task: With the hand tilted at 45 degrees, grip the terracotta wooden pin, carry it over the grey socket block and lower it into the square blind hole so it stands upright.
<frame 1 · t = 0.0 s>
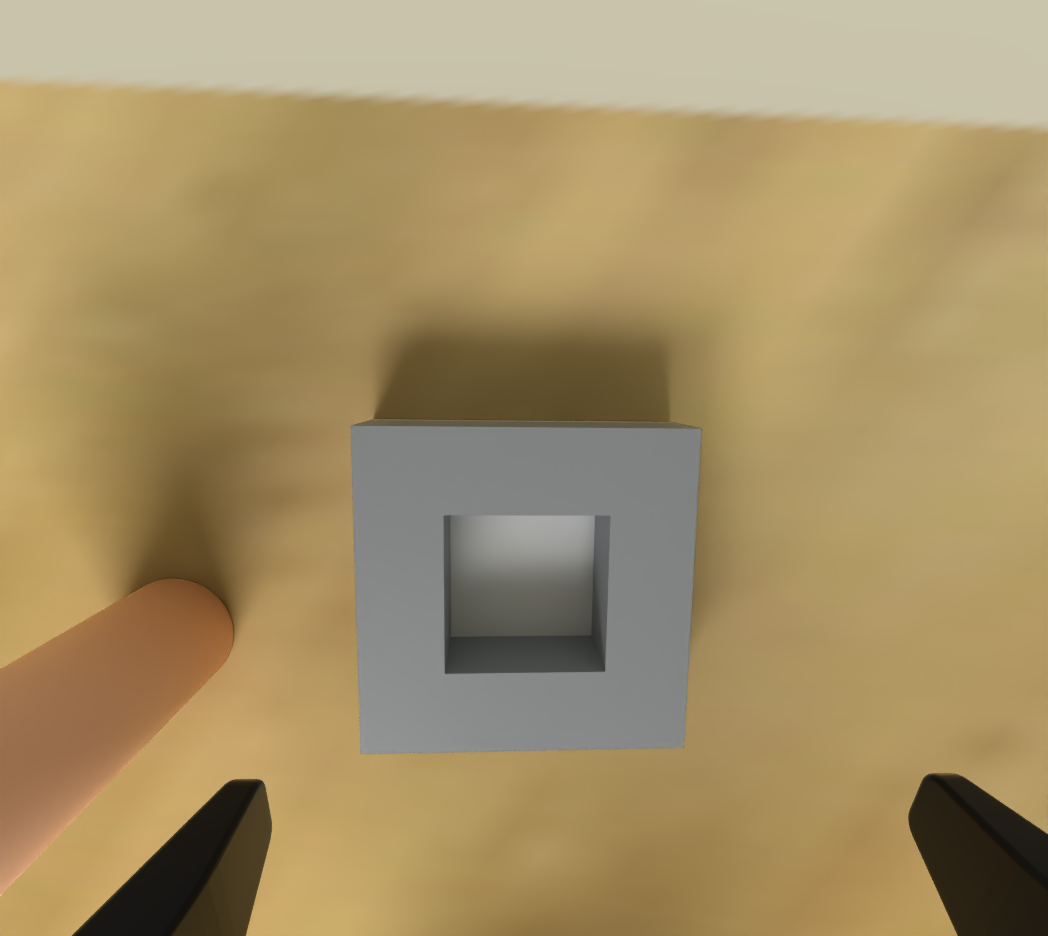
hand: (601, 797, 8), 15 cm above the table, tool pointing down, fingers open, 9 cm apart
socket block: (521, 564, 23), on the table
pin: (176, 632, 23), on the table
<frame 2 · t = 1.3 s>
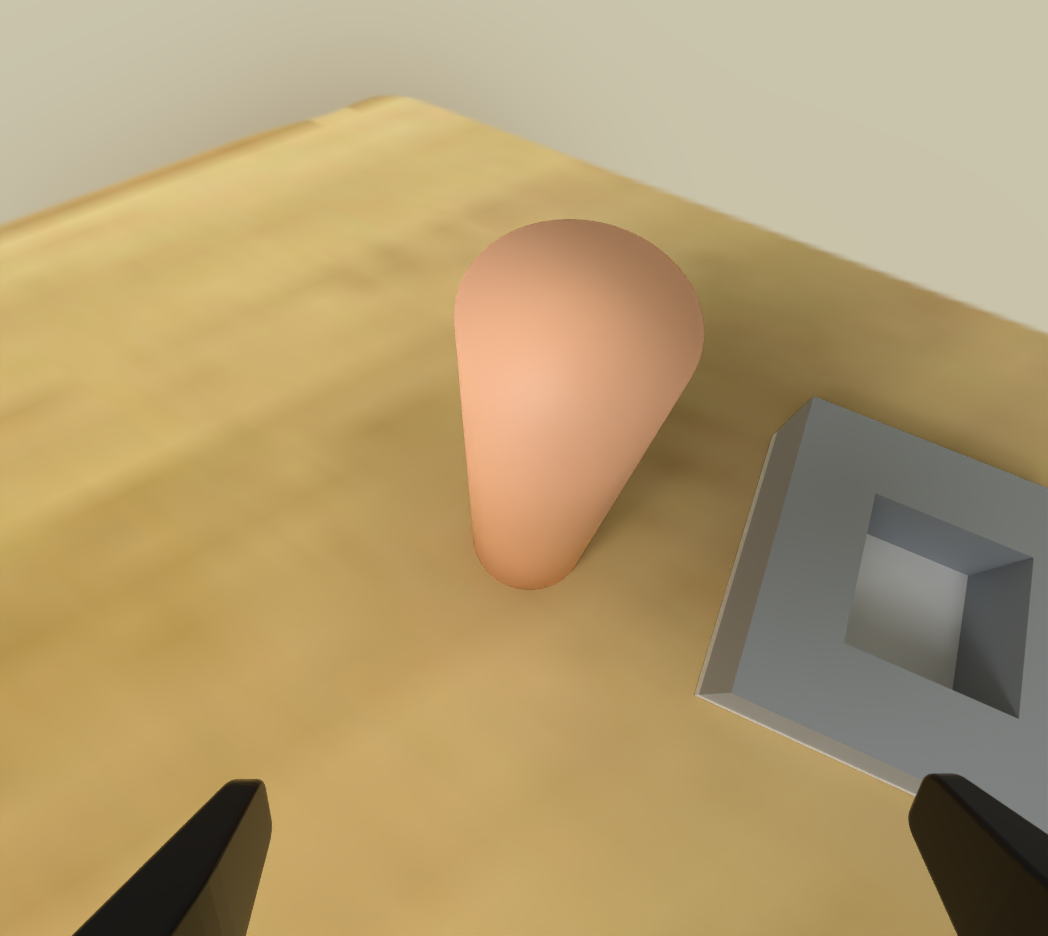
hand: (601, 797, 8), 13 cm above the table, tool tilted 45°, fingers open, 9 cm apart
socket block: (877, 613, 23), on the table
pin: (528, 533, 23), on the table
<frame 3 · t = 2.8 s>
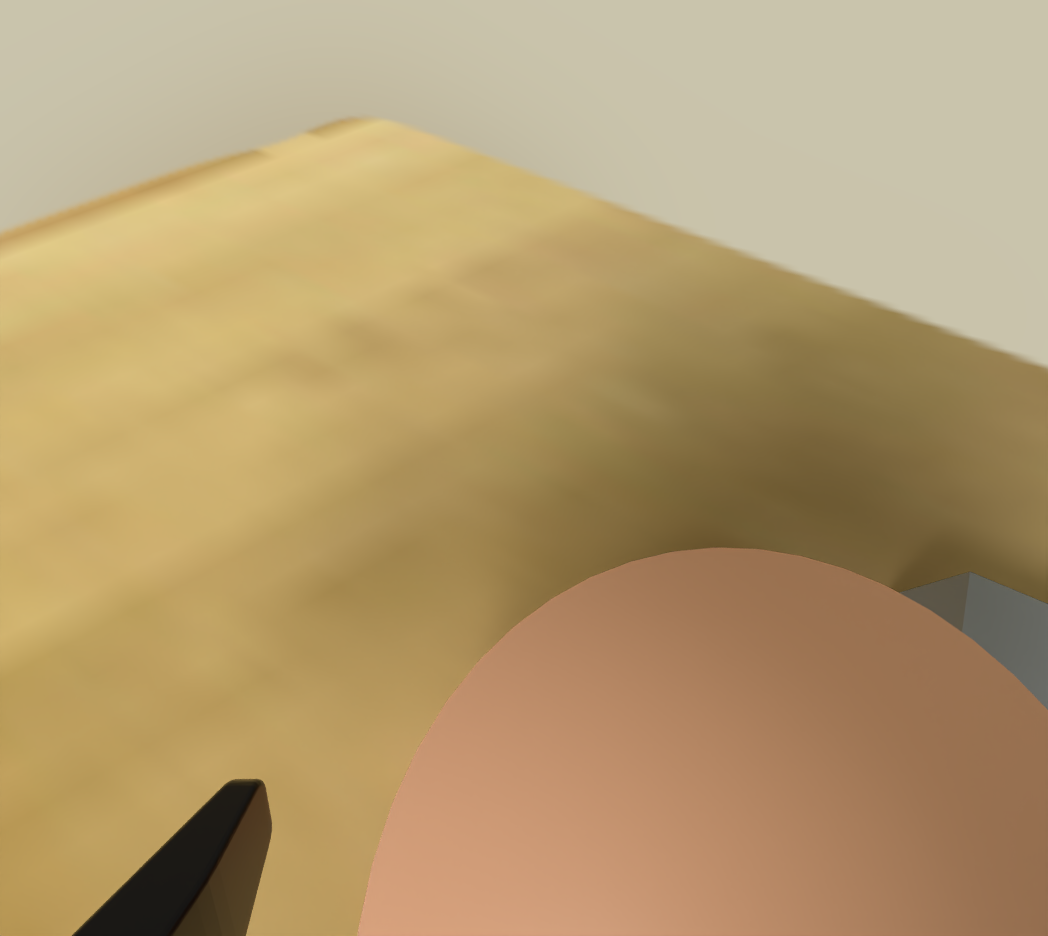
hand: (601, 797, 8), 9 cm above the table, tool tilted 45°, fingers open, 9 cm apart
pin: (544, 762, 16), on the table
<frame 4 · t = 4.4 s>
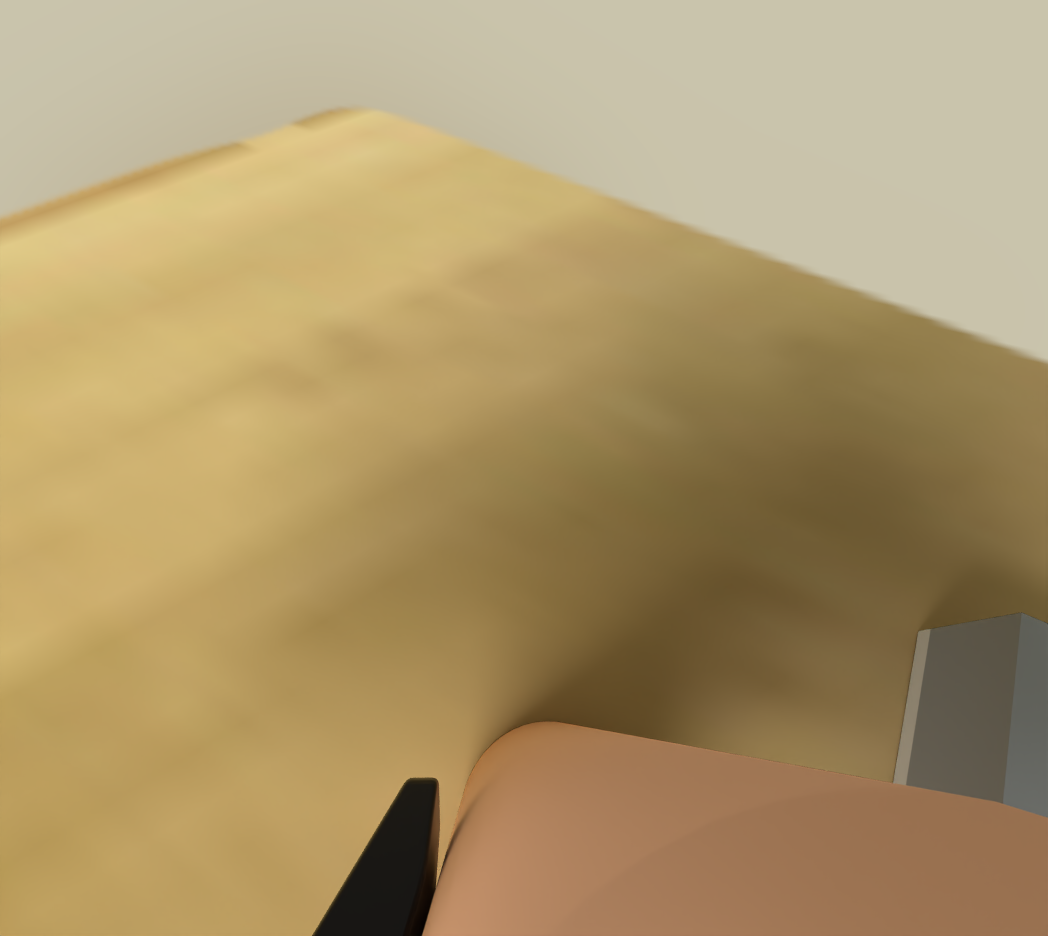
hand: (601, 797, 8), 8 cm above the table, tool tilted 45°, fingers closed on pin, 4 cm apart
pin: (549, 818, 14), on the table, touching gripper
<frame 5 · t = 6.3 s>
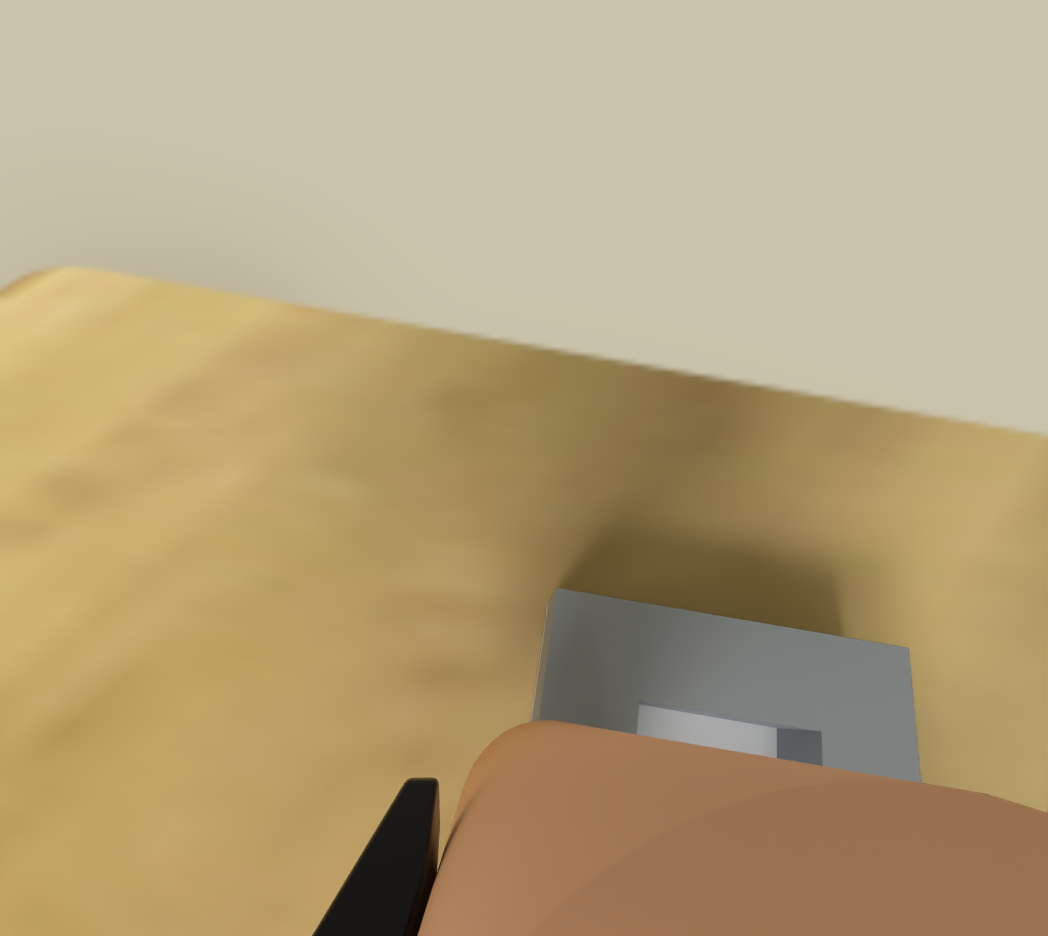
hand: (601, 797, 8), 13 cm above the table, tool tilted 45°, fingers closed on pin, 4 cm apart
socket block: (689, 802, 20), on the table
pin: (548, 817, 14), point 6 cm above the table, touching gripper
when the fingers open (9 cm above the table, at t = 8.6 s): pin stays where it is, resting on socket block.
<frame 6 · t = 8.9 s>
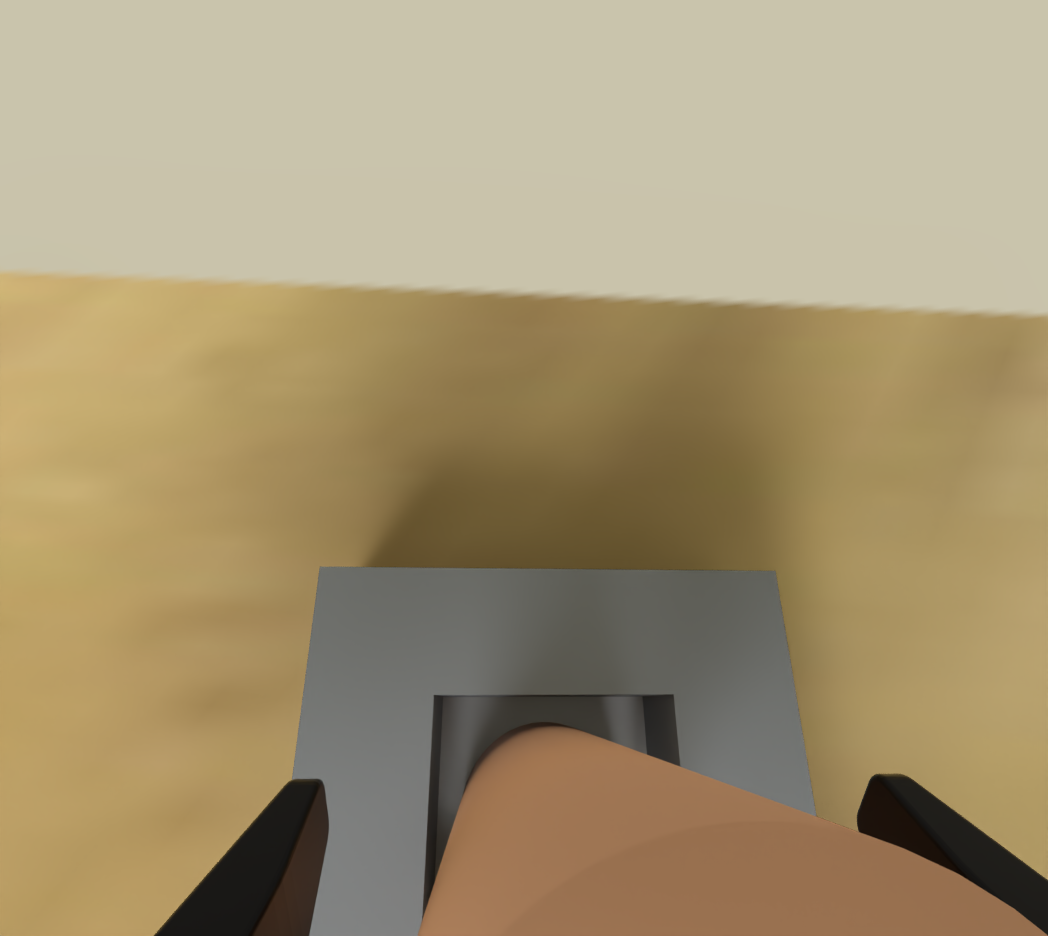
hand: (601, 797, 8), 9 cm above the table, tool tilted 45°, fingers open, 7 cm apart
socket block: (543, 808, 16), on the table
pin: (545, 813, 15), point 1 cm above the table, touching socket block
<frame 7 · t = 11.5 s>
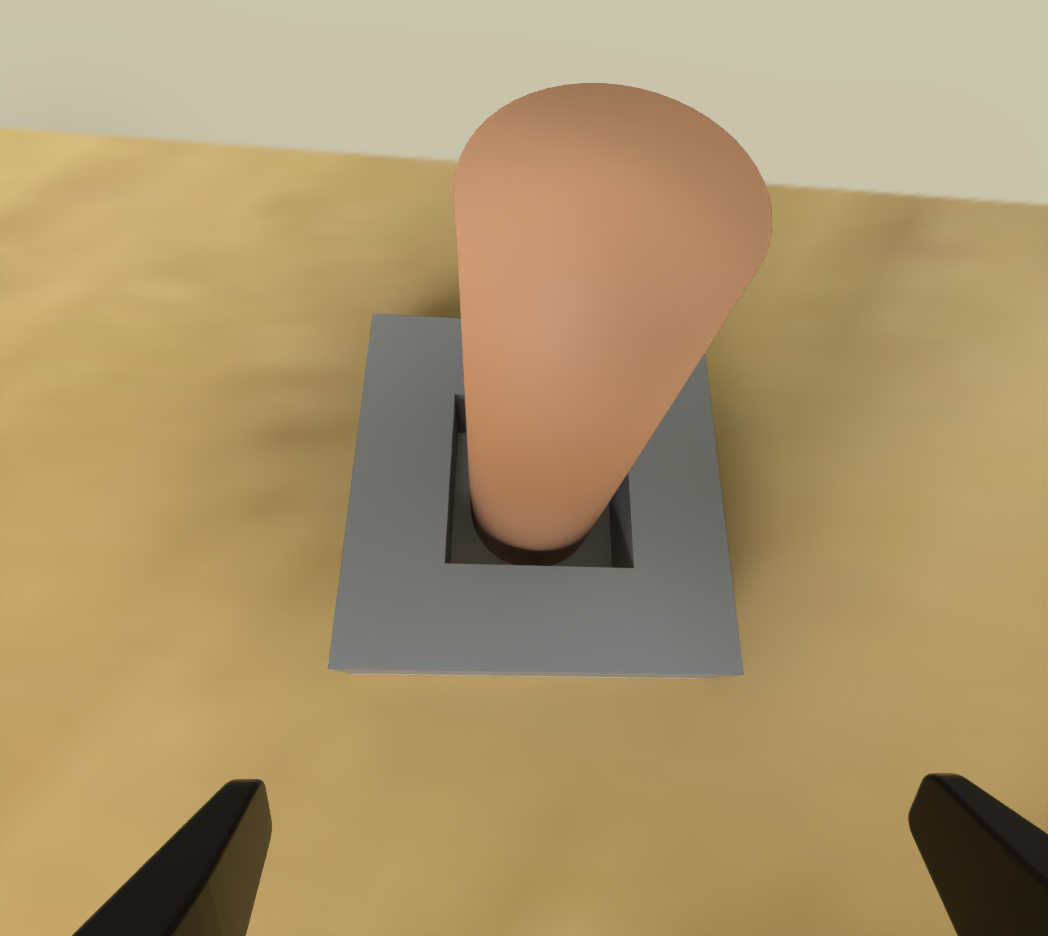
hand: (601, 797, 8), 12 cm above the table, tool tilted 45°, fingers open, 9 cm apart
socket block: (531, 510, 22), on the table
pin: (532, 507, 21), point 1 cm above the table, touching socket block
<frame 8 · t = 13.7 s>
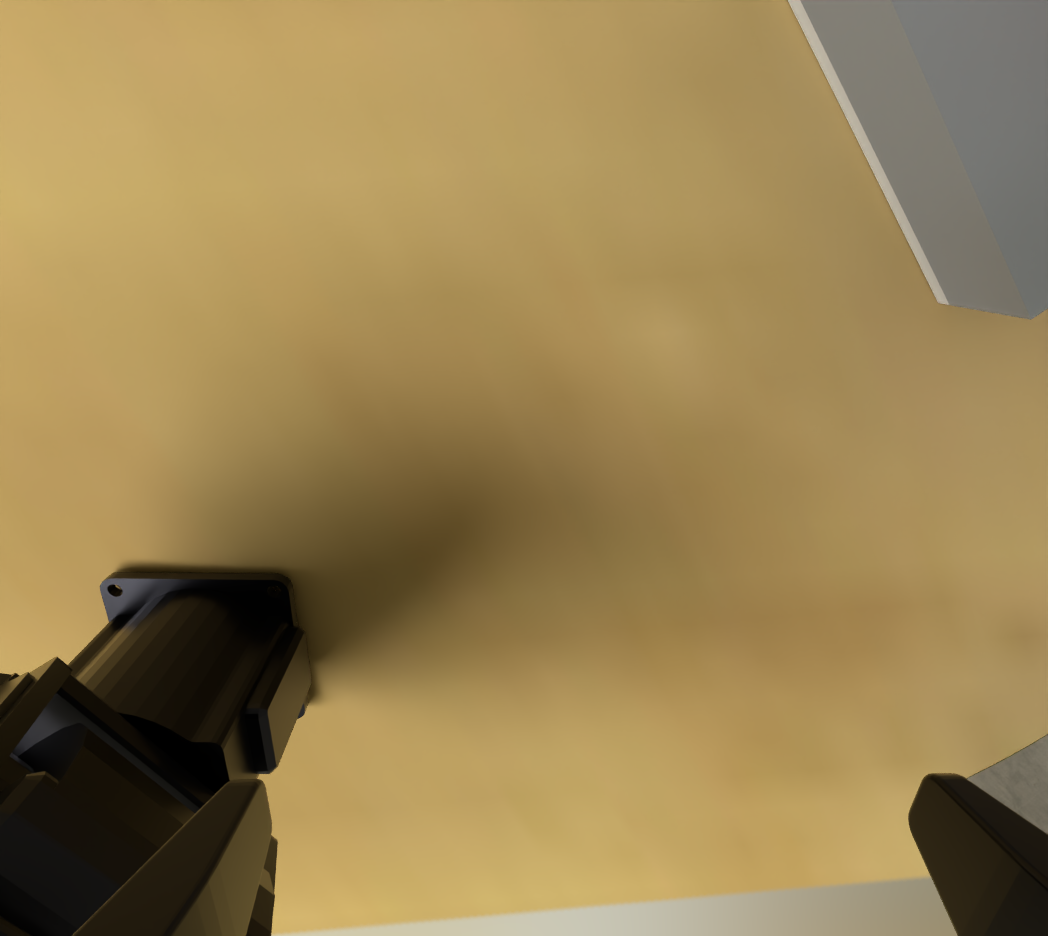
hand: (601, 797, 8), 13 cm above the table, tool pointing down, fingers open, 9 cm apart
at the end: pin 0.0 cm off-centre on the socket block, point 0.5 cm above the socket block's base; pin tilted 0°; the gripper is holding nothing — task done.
